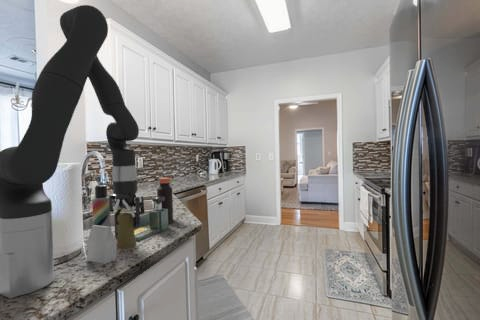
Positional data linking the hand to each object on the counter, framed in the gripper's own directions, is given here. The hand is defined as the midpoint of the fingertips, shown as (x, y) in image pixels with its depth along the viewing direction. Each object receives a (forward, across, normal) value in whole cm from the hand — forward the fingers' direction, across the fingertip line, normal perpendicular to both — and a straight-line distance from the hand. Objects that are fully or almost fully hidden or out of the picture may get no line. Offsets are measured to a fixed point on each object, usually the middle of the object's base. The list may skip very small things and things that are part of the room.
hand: (127, 225), depth 80 cm
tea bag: (+6, +3, -12) cm, 14 cm away
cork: (+7, 0, -1) cm, 7 cm away
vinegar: (+7, -8, +27) cm, 29 cm away
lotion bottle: (+7, -14, 0) cm, 16 cm away
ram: (+2, -1, +17) cm, 17 cm away
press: (+7, -5, +11) cm, 14 cm away
